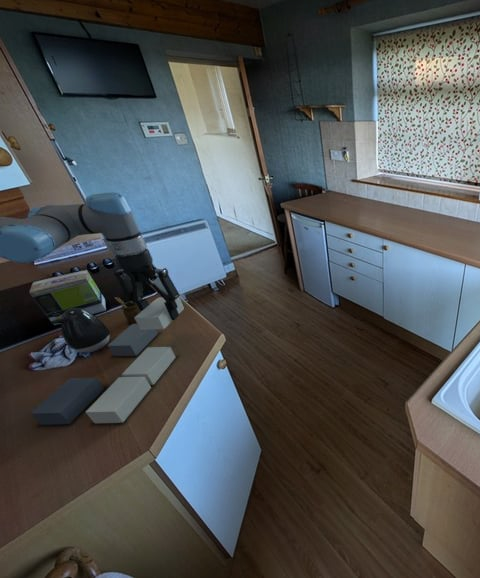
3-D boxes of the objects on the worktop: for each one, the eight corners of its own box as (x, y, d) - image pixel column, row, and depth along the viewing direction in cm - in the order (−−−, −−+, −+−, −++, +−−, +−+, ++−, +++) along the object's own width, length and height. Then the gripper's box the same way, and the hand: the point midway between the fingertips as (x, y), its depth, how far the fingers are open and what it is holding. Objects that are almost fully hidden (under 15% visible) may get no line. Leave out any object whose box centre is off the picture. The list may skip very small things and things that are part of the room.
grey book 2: (113, 356, 93) (107, 345, 91) (137, 334, 103) (132, 323, 100) (136, 355, 94) (130, 345, 91) (157, 333, 103) (152, 323, 101)
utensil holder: (152, 315, 112) (138, 288, 106) (138, 325, 107) (123, 297, 101) (137, 314, 113) (123, 287, 107) (123, 324, 107) (108, 296, 101)
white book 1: (94, 423, 73) (85, 412, 71) (126, 388, 83) (118, 377, 80) (123, 422, 73) (114, 411, 71) (151, 387, 83) (144, 376, 81)
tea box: (106, 300, 121) (87, 268, 113) (106, 311, 114) (86, 278, 107) (55, 314, 112) (31, 280, 105) (53, 326, 106) (27, 292, 98)
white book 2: (140, 329, 88) (134, 317, 86) (163, 308, 97) (157, 297, 95) (164, 329, 88) (158, 317, 86) (184, 308, 98) (179, 297, 95)
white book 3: (128, 385, 84) (121, 374, 81) (153, 357, 93) (147, 347, 91) (153, 384, 84) (147, 373, 81) (175, 357, 93) (170, 346, 91)
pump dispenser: (65, 354, 94) (37, 316, 86) (101, 334, 102) (77, 298, 95) (88, 361, 91) (60, 322, 84) (122, 340, 100) (100, 303, 92)
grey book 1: (40, 424, 73) (29, 413, 71) (78, 389, 82) (70, 378, 80) (69, 424, 73) (59, 412, 71) (104, 388, 82) (96, 377, 80)
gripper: (82, 257, 77) (122, 325, 89) (159, 256, 78) (188, 324, 90) (105, 246, 84) (139, 311, 96) (175, 245, 84) (201, 310, 96)
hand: (163, 317), depth 93 cm, fingers closed on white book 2, 7 cm apart
